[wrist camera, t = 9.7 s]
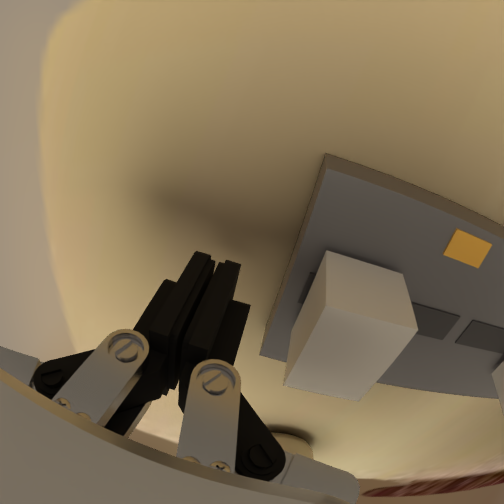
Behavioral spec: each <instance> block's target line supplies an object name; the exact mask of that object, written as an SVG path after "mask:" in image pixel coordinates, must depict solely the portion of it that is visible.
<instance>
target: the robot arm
mask: <svg viewBox="0 0 504 504" xmlns="http://www.w3.org/2000/svg"><path fill="white" fill-rule="evenodd" d="M214 267H215V261H214V260H211V255H208V254H205V253H202V252H198V251H196V252H195V253H194V255H193V256H192V258H191V260H190V261H189V263H188V264H187V266H186V268H185V269H184V271H183V273H182V274H181V276H180V278H179V279H178V281H177V282H174V281H171V280H168V279H166V280H164V281H163V283H162V284H161V286H160V287H159V289H158V290H157V292H156V294H155V295H154V297H153V298H152V300H151V301H150V303H149V305H148V306H147V308H146V309H145V311H144V313H143V314H142V316H141V317H140V319H139V321H138V322H137V324H136V326H135V327H134V329H133V330H130V329H121V330H117V331H114V332H112V333H111V334H109V335H108V336H107V337H106V338H105V339H104V340H103V341H102V343H101V344H100V345H99V346H98V347H97V348H96V349H94V350H90V351H86V352H82V353H78V354H74V355H70V356H66V357H62V358H58V359H54V360H50V361H47V362H45V363H44V362H40V360H39V359H38V358H35V357H32V356H28V355H25V354H22V353H19V352H15V351H13V350H10V349H7V348H4V347H1V346H0V504H356V501H357V498H358V495H359V488H360V487H359V483H358V480H357V479H356V478H355V477H354V475H352V474H350V473H348V472H346V471H343V470H340V469H337V468H334V467H332V466H329V465H326V464H323V463H321V462H318V461H315V460H313V459H310V458H308V457H305V456H303V455H300V454H298V453H295V454H292V453H289V452H287V451H285V450H283V448H282V447H281V445H280V444H279V443H278V441H277V440H276V439H275V437H274V436H273V435H272V434H271V432H270V431H269V430H268V428H267V427H266V426H265V424H264V423H263V422H262V420H261V419H260V418H259V416H258V415H257V414H256V412H255V411H254V410H253V408H252V407H251V406H250V404H249V403H248V401H247V400H246V399H245V397H244V396H243V395H242V393H241V392H240V391H241V378H240V375H239V373H238V371H237V370H236V369H235V368H234V367H233V365H234V361H235V358H236V355H237V351H238V348H239V344H240V341H241V337H242V334H243V331H244V327H245V324H246V320H247V317H248V313H249V310H250V306H251V305H248V304H245V303H242V302H238V301H235V300H233V296H234V292H235V287H236V283H237V279H238V275H239V271H240V267H241V264H239V263H235V262H232V261H229V260H226V261H225V263H221V262H219V264H218V266H217V268H216V270H215V272H214ZM213 272H214V274H213ZM178 381H179V400H178V405H179V407H180V409H181V410H182V412H183V414H184V416H183V421H182V427H181V432H180V438H179V444H178V450H177V456H176V457H175V456H172V455H169V454H167V453H164V452H161V451H158V450H156V449H153V448H150V447H148V446H145V445H143V444H140V443H138V442H135V441H133V440H130V439H128V438H129V436H130V434H131V433H132V432H133V430H134V429H135V427H136V426H137V424H138V423H139V422H140V420H141V419H142V417H143V416H144V414H145V413H146V411H147V410H148V408H149V407H150V405H151V402H152V401H153V400H156V399H159V398H161V395H162V394H163V395H166V396H167V393H168V391H169V389H173V390H175V388H176V386H177V384H178Z"/></svg>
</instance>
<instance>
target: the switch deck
mask: <svg viewBox="0 0 504 504" xmlns="http://www.w3.org/2000/svg"><path fill="white" fill-rule="evenodd" d="M326 250H327V251H331V252H334V253H337V254H340V255H344V256H347V257H350V258H353V259H357V260H360V261H363V262H366V263H370V264H373V265H376V266H379V267H382V268H386V269H389V270H392V271H395V272H398V273H401V274H403V277H404V280H405V283H406V287H407V290H408V293H409V297H410V300H411V304H412V308H413V311H414V315H415V319H416V323H417V327H418V331H417V332H416V334H415V335H414V336H413V338H412V339H411V340H410V341H409V343H408V344H407V345H406V347H405V348H404V349H403V350H402V352H401V353H400V354H399V355H398V357H397V358H396V359H395V360H394V362H393V363H392V364H391V365H390V366H389V368H388V369H387V370H386V371H385V372H384V374H383V375H382V376H381V377H380V378H379V379H378V380H377V383H382V384H387V385H393V386H399V387H405V388H411V389H418V390H424V391H431V392H439V393H446V394H454V395H463V396H472V397H483V398H495V399H499V397H498V393H497V390H496V387H495V383H494V380H493V377H492V373H493V372H494V371H495V370H496V368H497V367H498V366H499V365H500V364H501V363H502V362H503V361H504V227H503V226H501V225H499V224H498V223H496V222H494V221H492V220H490V219H488V218H486V217H484V216H482V215H480V214H478V213H475V212H473V211H471V210H469V209H467V208H465V207H463V206H461V205H459V204H456V203H454V202H452V201H450V200H447V199H445V198H443V197H441V196H438V195H436V194H434V193H431V192H429V191H427V190H424V189H422V188H420V187H417V186H415V185H412V184H410V183H407V182H405V181H402V180H400V179H397V178H394V177H392V176H389V175H387V174H384V173H381V172H379V171H376V170H373V169H370V168H367V167H365V166H362V165H359V164H356V163H353V162H350V161H347V160H344V159H341V158H338V157H335V156H332V155H329V154H325V157H324V160H323V164H322V167H321V170H320V173H319V176H318V179H317V182H316V185H315V188H314V191H313V194H312V197H311V200H310V203H309V206H308V209H307V212H306V215H305V218H304V221H303V224H302V227H301V230H300V233H299V236H298V239H297V242H296V245H295V248H294V251H293V253H292V256H291V259H290V262H289V265H288V268H287V271H286V273H285V276H284V279H283V282H282V285H281V287H280V290H279V293H278V296H277V298H276V301H275V304H274V307H273V309H272V312H271V315H270V317H269V320H268V323H267V326H266V329H265V333H264V337H263V341H262V346H261V350H260V354H259V355H261V356H265V357H268V358H272V359H276V360H279V361H283V362H287V358H288V351H289V345H290V338H291V331H292V328H293V326H294V324H295V322H296V320H297V317H298V315H299V313H300V311H301V308H302V306H303V304H304V302H305V299H306V297H307V295H308V293H309V290H310V288H311V286H312V283H313V281H314V279H315V276H316V274H317V271H318V269H319V267H320V264H321V262H322V260H323V257H324V255H325V252H326Z"/></svg>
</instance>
